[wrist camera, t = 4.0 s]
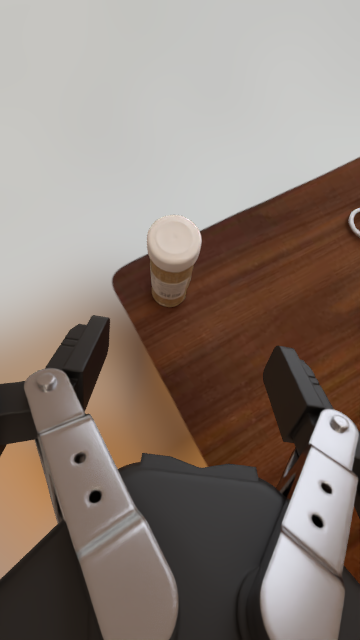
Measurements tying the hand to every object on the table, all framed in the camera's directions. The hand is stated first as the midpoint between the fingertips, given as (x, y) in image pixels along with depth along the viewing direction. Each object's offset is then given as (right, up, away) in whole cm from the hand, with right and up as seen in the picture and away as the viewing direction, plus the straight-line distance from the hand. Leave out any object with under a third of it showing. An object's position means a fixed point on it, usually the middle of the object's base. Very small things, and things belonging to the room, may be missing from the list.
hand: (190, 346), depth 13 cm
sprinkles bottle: (-2, +5, +22) cm, 23 cm away
